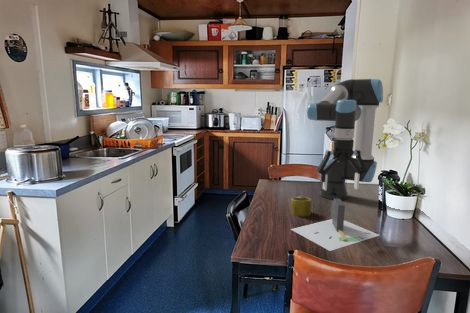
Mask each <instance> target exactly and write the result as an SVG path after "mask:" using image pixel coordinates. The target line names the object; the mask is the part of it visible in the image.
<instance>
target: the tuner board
mask: <svg viewBox="0 0 470 313" xmlns="http://www.w3.org/2000/svg"><path fill="white" fill-rule="evenodd" d="M290 230H291V231H293V232H294V233H297V234H298V235H300V236H302V237H304V238H305V239H307V240H309V241H311V242H312V243H314V244H316V245H318V246H319V247H322V248H324V249H325V250H327V251H328V252H331V251H335V250H337V249H341V248H343V247H344V248H346V247H348V246H351V245H354V244H357V243H361V242H363V241H366V240H370V239H373V238H377V237H379V236H381V235H380V234H378V233H375V232H374V231H371V230H368V229H367V228H364V227H361V226H359V225H357V224H354V223H352V222H349V221H348V220H345V219H344V225H343V231H342V232H343V234H344V235H345V237H346V239H347V240H343V239H342V237H341V235H340V233H339V231H336V229H335V227H334V225H333V223H332V218H330V219H327V220H321V221H318V222H315V223H310V224H306V225H302V226H299V227H294V228H291V229H290Z"/></svg>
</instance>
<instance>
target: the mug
mask: <svg viewBox="0 0 470 313" xmlns="http://www.w3.org/2000/svg"><path fill="white" fill-rule="evenodd" d="M290 201H291V202H290V205H291V213H292V215H293V216H298V217H309V216H310V215H311V214H312V210H311V209H312V199H311V198H309V197H307V196H297V197H292V198H291V200H290Z"/></svg>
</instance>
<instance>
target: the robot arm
mask: <svg viewBox="0 0 470 313" xmlns="http://www.w3.org/2000/svg"><path fill="white" fill-rule="evenodd" d="M383 101H384V87H383V82H382V80H381V79H377V78H376V79H375V78H366V79H365V78H364V79H363V78H362V79H361V78H359V79H357V78H356V79H346V80H343V81H341V82H338V83H336V84H335V85H334V86H332V87H331V89H330V90H329V93H327V94H326V95H325V96H324V97H323V98H322V99H321V100H320V101H319V102H312V103H309V104H308V106H307V109H306V116H307V118H308V120H310V121H320V122H321V121H324V122H325V121H326V122H335V123H334V124H335V125H334V127H335V128H334V134H333V135H334V140H333V150H328V149H326V150H325V154H324V157H323V158H322V160H321V162H320V164H319V166H318V168H317V169H316V172H317V173H318V174H320V181H321V182H322V185H321V188H320V191H319V196H320V197H322V198H324V199H328V200H334V198H335V199H341V201H343V200H346V199H347V198H348V194H349V193H348V190H347V186H346V181H351V182H352V181H354V183H353V188H354V189H355V190H356V191H357V190H358V191H359V188H360V183H361V182H362V183H372V181H373V179H374V177H375V174H376V170H377V165H378V162H377V161H376V160H375V156H373V154H372V153H373V152H372V150H373V140H374V131H375V130H374V128H375V118H376V109H377V108H379V107H380V104H382V103H383ZM355 125H356V126H355ZM355 127H356V129H355ZM354 138H355V142H354Z"/></svg>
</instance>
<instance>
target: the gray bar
mask: <svg viewBox="0 0 470 313" xmlns="http://www.w3.org/2000/svg"><path fill="white" fill-rule="evenodd" d="M345 209H346V205H345V203H344V202H343V200H341V199H335V198H334V199H333V206H332V218H331V219H332V223H333V225H334V227H335V229H336V231H339V233H340V235H341V237H342V239H343V240H347V239H346V237H345V235H344V234H343V232H342V231H343V225H344V220H345Z"/></svg>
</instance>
